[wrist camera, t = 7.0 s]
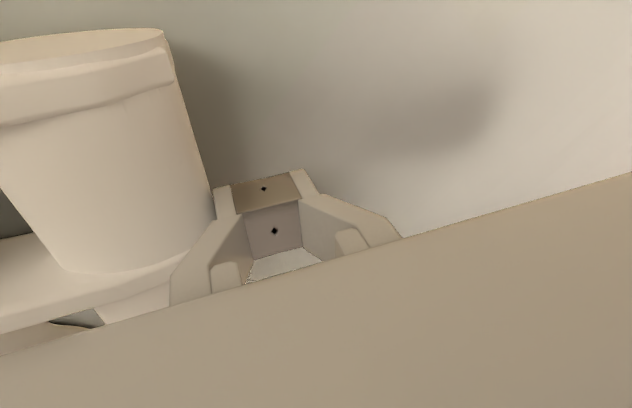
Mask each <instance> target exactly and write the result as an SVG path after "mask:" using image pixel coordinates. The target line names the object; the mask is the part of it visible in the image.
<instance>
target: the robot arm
mask: <svg viewBox="0 0 632 408" xmlns="http://www.w3.org/2000/svg"><path fill="white" fill-rule="evenodd" d="M230 188H231V189H230ZM231 192H232V193H231ZM213 197H214V203H215V209H216V216H217V220H213V221H212V222H211V223H210V224H209V226H208V227H207V228H206V230H205V231H204V232H203V234H202V235H201V236H200V237H199V239H198V240H197V241H196V243H195V244H194V245H193V247H192V248H191V249H190V250H189V252H188V253H187V254H186V256H185V257H184V258H183V260H182V261H181V262H180V263H179V265H178V266H177V267H176V269H175V270H174V271H173V273H172V274H171V275H170V289H169V307H165V308H162V309H158V310H155V311H152V312H148V313H145V314H141V315H138V316H134V317H131V318H128V319H124V320H121V321H117V322H114V323H110V324H107V325H103V326H100V327H97V328H93V329H90V330H86V331H83V332H79V333H76V334H73V335H69V336H66V337H62V338H59V339H55V340H52V341H49V342H45V343H42V344H38V345H35V346H31V347H28V348H24V349H21V350H18V351H14V352H11V353H7V354H4V355H0V408H632V172H628V173H625V174H622V175H618V176H615V177H611V178H608V179H605V180H601V181H598V182H594V183H591V184H588V185H584V186H581V187H577V188H574V189H570V190H567V191H564V192H560V193H557V194H553V195H550V196H546V197H543V198H540V199H536V200H533V201H529V202H526V203H522V204H519V205H516V206H512V207H509V208H505V209H502V210H498V211H495V212H492V213H488V214H485V215H481V216H478V217H474V218H471V219H467V220H464V221H461V222H457V223H454V224H450V225H447V226H443V227H440V228H437V229H433V230H430V231H426V232H423V233H419V234H416V235H413V236H409V237H406V238H402V237H401V235H400V234H399V233H398V232H397V230H396V229H395V228H394V227H393V225H392V224H391V223H390V222H389V220H388V219H387V218H386V217H384V216H381V215H378V214H376V213H373V212H371V211H368V210H365V209H363V208H360V207H358V206H355V205H353V204H350V203H347V202H345V201H342V200H340V199H337V198H334V197H332V196H329V195H327V194H319V192H318V191H317V189H316V187H315V186H314V184H313V182H312V181H311V179H310V178H309V176H308V174H307V173H306V171H305V169H303V168H302V169H298V170H294V171H291V172H287V173H283V174H279V175H275V176H271V177H267V178H263V179H256V180H251V181H247V182H242V183H237V184H232V185H230V186H229V185H226V186H222V187H218V188H214V189H213ZM300 247H303V248H304V249H305V250H307V251H308V252H310V253H311V254H313V255H314V256H316V257H317V258H319V259H320V260H322V261H323V262H320V263H316V264H313V265H310V266H306V267H303V268H299V269H296V270H292V271H289V272H286V273H282V274H279V275H275V276H272V277H268V278H265V279H262V280H258V281H255V282H251V283H248V284H245V282H246V280H247V277H248V275H249V273H250V270H251V268H252V265H253V263H254V260H257V259H260V258H263V257H267V256H270V255H273V254H276V253H280V252H284V251H288V250H292V249H296V248H300Z"/></svg>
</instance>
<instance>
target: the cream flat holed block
mask: <svg viewBox="0 0 632 408" xmlns="http://www.w3.org/2000/svg"><path fill="white" fill-rule="evenodd" d="M0 188H1V189H2V191H3V192H4V193H5V195H6V196H7V197H8V199H9V200H10V201H11V203H12V204H13V205H14V206H15V208H16V209H17V210H18V212H19V213H20V214H21V215H22V217H23V218H24V219H25V221H26V222H27V223H28V225H29V226H30V227H31V229H32V230H33V231H34V232H33V233H29V234H24V235H20V236H15V237H11V238H6V239H0V355H4V354H7V353H11V352H14V351H18V350H21V349H24V348H28V347H31V346H35V345H38V344H42V343H45V342H49V341H52V340H55V339H59V338H62V337H66V336H69V335H73V334H76V333H79V332H83V331H86V330H90V329H89V328H84V327H79V326H70V325H57V324H52V323H49V322H47V321H50V320H53V319H56V318H60V317H63V316H67V315H70V314H74V313H77V312H81V311H85V310H88V309H92V308H93V309H94V310H95V312H96V313H97V314H98V316H99V317H100V318H101V319H102V321H103V322H104V323H105V325H107V324H110V323H114V322H117V321H121V320H124V319H128V318H131V317H134V316H138V315H141V314H145V313H148V312H152V311H155V310H158V309H162V308H165V307H169V289H170V275H171V274H172V273H173V271H174V270H175V269H176V267H177V266H178V265H179V263H180V262H181V261H182V260H183V258H184V257H185V256H186V254H187V253H188V252H189V250H190V249H191V248H192V247H193V245H194V244H195V243H196V241H197V240H198V239H199V237H200V236H201V235H202V234H203V232H204V231H205V230H206V228H207V227H208V226H209V224H210V223H211V222H212V221H213V220H217V216H216V209H215V203H214V200H213V197H212V193H211V190H210V187H209V183H208V180H207V177H206V173H205V170H204V167H203V163H202V160H201V157H200V154H199V150H198V147H197V144H196V140H195V137H194V134H193V130H192V127H191V124H190V120H189V117H188V114H187V110H186V107H185V104H184V100H183V97H182V94H181V90H180V87H179V84H178V80H177V77H176V74H175V65H174V61H173V58H172V55H171V51H170V48H169V44H168V42H167V40H165V37H164V34H163V31H162V30H160V29H155V28H123V29H105V30H91V31H80V32H70V33H61V34H52V35H44V36H36V37H29V38H22V39H15V40H9V41H2V42H0Z"/></svg>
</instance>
